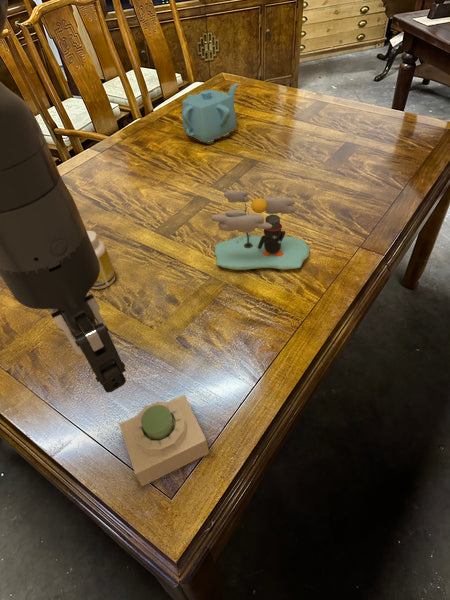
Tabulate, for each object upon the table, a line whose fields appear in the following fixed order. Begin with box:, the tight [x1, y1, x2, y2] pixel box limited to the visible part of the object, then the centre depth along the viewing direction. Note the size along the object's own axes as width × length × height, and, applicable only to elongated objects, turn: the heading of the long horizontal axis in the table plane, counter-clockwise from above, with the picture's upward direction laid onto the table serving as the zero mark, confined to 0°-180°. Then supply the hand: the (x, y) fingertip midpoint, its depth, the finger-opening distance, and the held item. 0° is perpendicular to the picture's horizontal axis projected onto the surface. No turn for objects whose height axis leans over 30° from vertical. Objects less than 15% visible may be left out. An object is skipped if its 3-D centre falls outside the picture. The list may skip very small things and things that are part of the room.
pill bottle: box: [86, 230, 116, 290], centre depth 84 cm, size 6×6×11 cm
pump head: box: [141, 405, 174, 440], centre depth 55 cm, size 4×4×2 cm
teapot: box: [181, 83, 240, 145], centre depth 129 cm, size 18×16×14 cm
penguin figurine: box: [210, 190, 311, 271], centre depth 83 cm, size 20×11×15 cm, turn 81°
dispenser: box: [118, 394, 210, 487], centre depth 58 cm, size 10×8×6 cm
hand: (99, 359), depth 45 cm, fingers open, 8 cm apart
